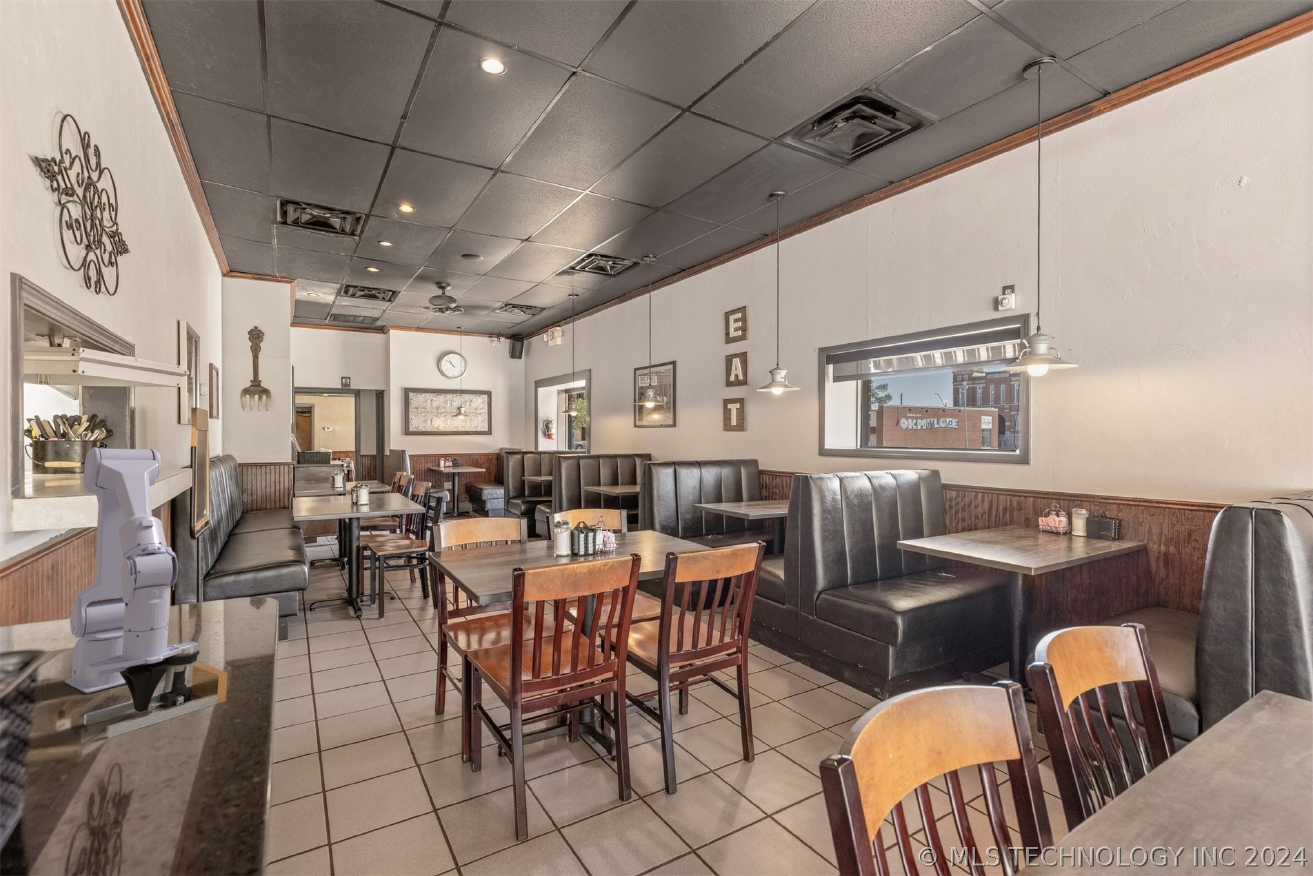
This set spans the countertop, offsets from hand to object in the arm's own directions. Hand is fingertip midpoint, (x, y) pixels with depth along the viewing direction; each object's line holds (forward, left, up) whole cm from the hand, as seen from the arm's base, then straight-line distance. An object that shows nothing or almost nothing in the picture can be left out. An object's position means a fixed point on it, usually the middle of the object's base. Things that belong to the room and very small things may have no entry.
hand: (141, 710), depth 100 cm
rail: (0, +2, -1) cm, 2 cm away
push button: (0, +4, -1) cm, 4 cm away
